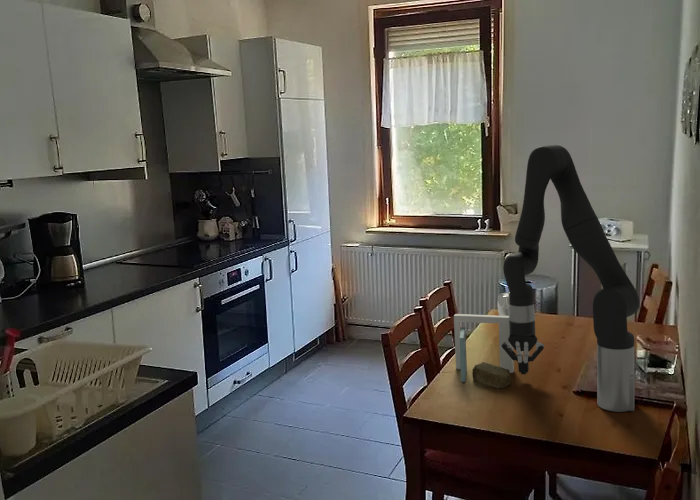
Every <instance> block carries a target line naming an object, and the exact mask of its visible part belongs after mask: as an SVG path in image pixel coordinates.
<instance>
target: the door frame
mask: <svg viewBox="0 0 700 500" xmlns="http://www.w3.org/2000/svg"><path fill="white" fill-rule="evenodd" d="M461 323H479V324H480V323H481V324H498V345H499V346H498V347H499V367H502V368H504V369H508V370H509V372H510V374H513V373H514V372H515V368H514V367H515V366H514V365H515V360H512V359H511V357H510V356H509V355H508V354H507V353H506V351H505V350H504V349H503V348H502V344H503V342H506V341H507V340H508V338H509V336H510V329H509V316H499V315H494V314H493V315H492V314H491V315H489V314H472V313H471V314H470V313H469V314H466V313H464V314H463V313H455V314H454V315H453V327H454V328H453V330H454V331H453V332H454V333H453V334H454V353H455V354H454V355H455V369H456V370H461V363H460V332H461ZM510 345H511V344H510ZM510 348H511V349H512V350H513V351H514V348H513V346H512V345H511V346H510Z"/></svg>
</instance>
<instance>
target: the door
mask: <svg viewBox="0 0 700 500" xmlns="http://www.w3.org/2000/svg"><path fill="white" fill-rule="evenodd" d="M466 335H467V334H466V327H464V326H460V363H461V369H460V379H461V380H460V382H461V383H466V378H467V370H468V369H467V368H468V367H467V366H468V365H467V363H468V362H467V340H466Z"/></svg>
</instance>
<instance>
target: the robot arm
mask: <svg viewBox="0 0 700 500" xmlns="http://www.w3.org/2000/svg"><path fill="white" fill-rule="evenodd" d="M550 180H551V182H552V184H553V186H554V188H555V190H556V191H557V192H556V193H557V195H558V197H559V202H560V218H561V225H562V228H563V231H564V233H565V235H566V237H567V239H568V242H569V243H570V245H571V247H572V249H573V250H574V252H575V253H577V255H578V256H579V257H580V258H581V259H582V260H583V261H584V262H585V263H586V264H587V265H588V266H590V268H591V269H592V270H593V271H594V273H595V274H596V276H597V278H598V280H599V282H600V284H601V287H602V288H601V289H599V290H598V291H597V292H596V293H595V294H594V297H593V301H592V320H593V323H592V324H593V331H594V332H593V333H594V336H595V337H596V375H597V376H596V378H597V379H596V384H597V385H596V388H597V389H596V391H597V393H596V398H597V400H596V401H597V406H598V407H599V408H601V409H602V410H606V411H610V412H617V413H624V412H628V411H629V412H635V336H634V334H633V333H632V332H630V331H629V330H628V318H629V317H631V316H632V315H635V314H636V313H637V312H638V310H639V309H640V305H641V304H640V301H641V300H640V296H639V294H638V291H637V289H636V288H635V286H634V284H633V282H632V281H631V280H630V278H629V276H628V275H627V273H626V271H625V270H624V268H623V266H622V265H621V263H620V261H619V259H618V258H617V255H616V254H615V252H614V249H613V247H612V246H611V243H610V242H609V239H608V237H607V234H606V232H605V230H604V227H603V226H602V223H601V222H600V220H599V218H598V216H597V214H596V212H595V210H594V209H593V206H592V204H591V201H590V200H589V198H588V196H587V193H586V192H585V190H584V187H583V185H582V184H581V180H580V177H579V175H578V172H577V169H576V166H575V163H574V161H573V158H572V156H571V154H570V152H569V151H568V149H566V147H564V146H562V145H559V144H549V145H548V144H547V145H540V146H537V147H535V148H534V149H533V150H532V151H531V152H530V154H529V156H528V160H527V166H526V176H525V185H524V194H523V202H522V209H521V211H520V212H521V214H520V217H519V221H518V224H517V227H516V231H515V236H514V242H515V244H516V245H517V246H518V251H517V252H515V253H512V254H509V255H507V256H506V258H505V259H504V262H503V265H502V269H503V275H504V279H505V283H506V287H507V289H508V293H509V329H510V336H509V338H508V340H507V341H506V342H503V344H502V348H503V349H504V350H505V351H506V353H507V354H508V355H509V356H510V357H511V359H512V360H514V362H515V361H516V362H517V363H518V365H517V366H518V367H517V368H518V372H519V373H520V375H526V374H528V373H529V368H530V367H529V363H530V362H534V361H535V360H536V358H538V356H539V355H540V354H541V352H542V351H543V350H544V348H545V344H544V343H541V342H540V341H538V338H537V336H536V313H535V312H536V309H535V306H534V288H533V286H532V285H531V284H530V283H527V281H526V276H528V275H530V274H532V273H533V272H534V271H535V270H536V268H537V265H538V263H539V262H538V261H539V254H540V253H539V251H540V250H539V249H540V247H539V245H540V240H541V238H542V233H543V230H544V227H545V221H546V213H545V211H546V210H545V195H546V190H547V188H548V184H549V182H550ZM510 344H511V345H512V346H513V350H512V349H511V348H510V346H511V345H510ZM534 347H535V350H534V351H533V353H532V354H531V355H530V352H531V350H532V349H533V348H534ZM514 350H515V351H516V353H515V351H514Z"/></svg>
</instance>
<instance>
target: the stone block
mask: <svg viewBox="0 0 700 500" xmlns="http://www.w3.org/2000/svg"><path fill="white" fill-rule="evenodd" d="M471 373H472V379H473V381H476V382H477V383H481V384H484V385H487V386H489V387H492V388H494V389H504V388H506V387H507V386H508V385H511V381H512V380H511V375H510V374H511V373H510V372H509V370H508V369H504V368H502V367H500V365H495V364H492V363H488V362H485V361H483V362H480V363H478V364H475V365H474V367H473V368H472V372H471Z"/></svg>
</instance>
